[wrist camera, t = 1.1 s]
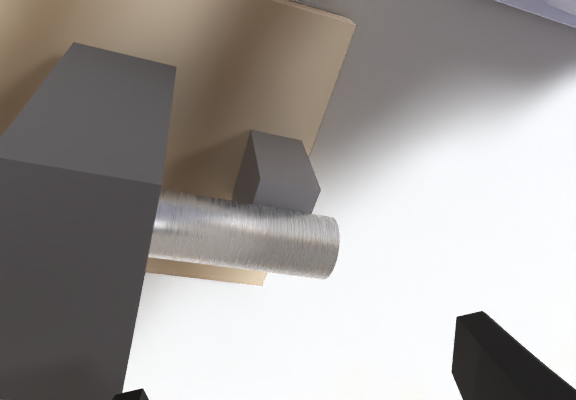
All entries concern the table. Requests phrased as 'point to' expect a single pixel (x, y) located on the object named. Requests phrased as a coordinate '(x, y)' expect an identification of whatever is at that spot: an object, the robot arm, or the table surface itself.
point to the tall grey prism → (79, 222)
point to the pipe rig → (211, 120)
